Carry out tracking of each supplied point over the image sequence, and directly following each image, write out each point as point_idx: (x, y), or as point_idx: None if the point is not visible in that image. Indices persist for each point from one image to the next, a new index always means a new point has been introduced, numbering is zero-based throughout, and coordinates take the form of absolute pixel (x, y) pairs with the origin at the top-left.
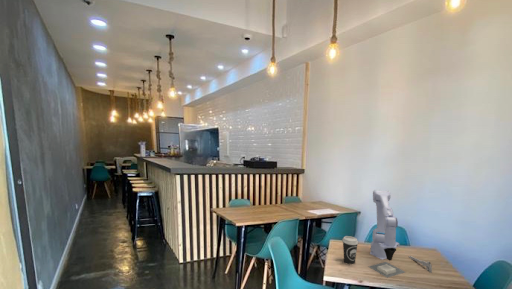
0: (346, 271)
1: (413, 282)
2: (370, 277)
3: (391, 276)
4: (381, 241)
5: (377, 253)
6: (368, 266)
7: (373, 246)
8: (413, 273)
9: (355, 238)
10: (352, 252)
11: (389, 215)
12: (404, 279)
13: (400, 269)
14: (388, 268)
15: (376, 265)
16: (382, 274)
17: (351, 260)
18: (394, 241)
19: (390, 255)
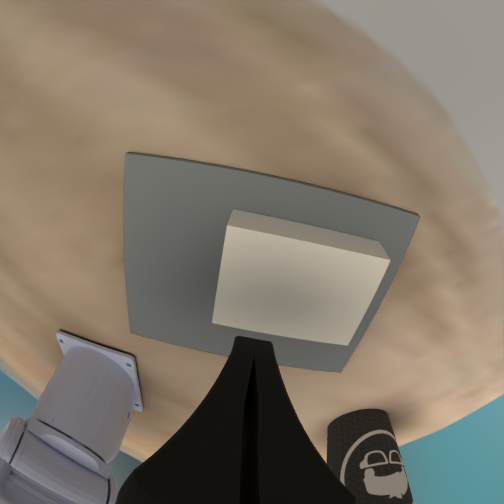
0: (471, 380)
1: (268, 12)
2: (476, 294)
3: (365, 200)
4: (70, 469)
5: (124, 400)
6: (337, 371)
7: (115, 443)
8: (78, 109)
9: None
10: (400, 477)
11: None
12: (292, 90)
13: (126, 208)
14: (297, 277)
15: None
16: (393, 266)
17: (390, 432)
18: None
19: (296, 416)
